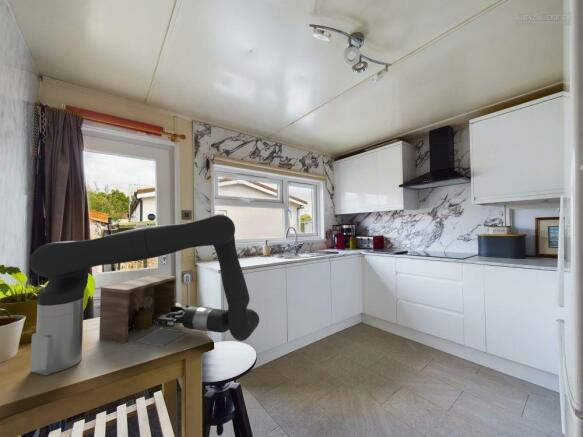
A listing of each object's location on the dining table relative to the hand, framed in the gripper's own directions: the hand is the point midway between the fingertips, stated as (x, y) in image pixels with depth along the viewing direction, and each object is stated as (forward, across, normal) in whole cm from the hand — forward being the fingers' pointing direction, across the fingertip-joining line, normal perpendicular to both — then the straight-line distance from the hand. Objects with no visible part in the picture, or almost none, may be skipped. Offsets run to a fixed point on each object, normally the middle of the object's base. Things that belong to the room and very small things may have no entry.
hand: (162, 312), depth 88 cm
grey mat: (-4, +4, +6) cm, 9 cm away
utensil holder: (+9, 0, +7) cm, 11 cm away
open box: (+10, 0, +6) cm, 12 cm away
